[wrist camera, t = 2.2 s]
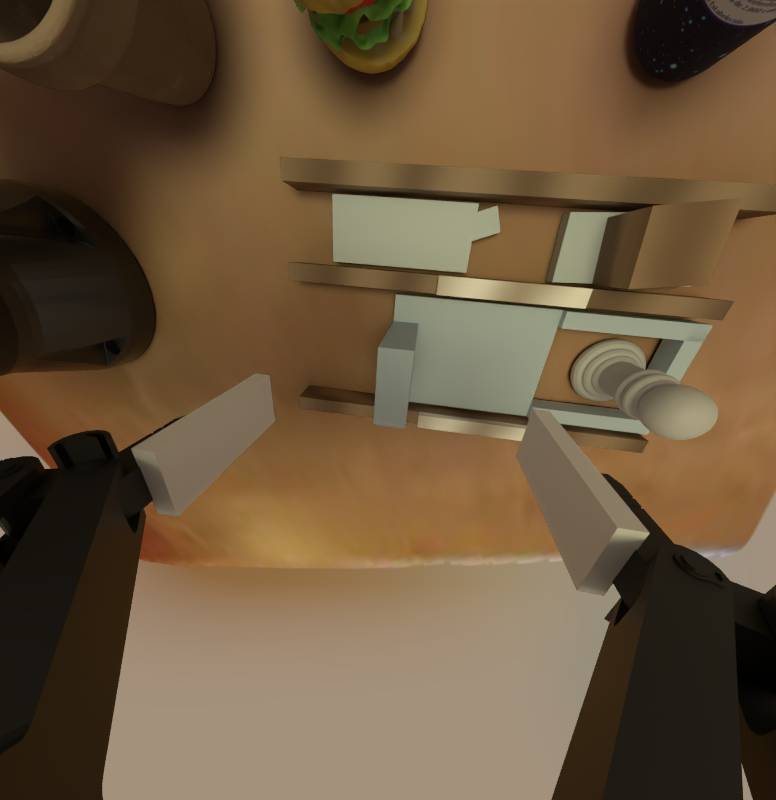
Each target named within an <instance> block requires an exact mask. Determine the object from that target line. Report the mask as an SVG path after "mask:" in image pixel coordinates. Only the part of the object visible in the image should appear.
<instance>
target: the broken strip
mask: <svg viewBox="0 0 776 800" xmlns="http://www.w3.org/2000/svg"><path fill="white" fill-rule="evenodd" d="M332 199H333V261H334V262H346V263H357V264H369V265H381V266H392V267H404V268H416V269H427V270H439V271H451V272H462V273H466V271H467V266H468V260H469V255H470V249H471V244H472V241H475V240H478V239H481V238H485V237H488V236H491V235H494V234H497V233H500V223H499V213H498V205H497V206H494V207H491V208H488V209H485V210H482V211H479V212H478V206H479V203H466V202H451V201H435V200H420V199H405V198H390V197H375V196H359V195H344V194H332ZM623 213H627V212H569V213H567V214H564V215H563V216H562V220H561V224H560V228H559V231H558V235H557V239H556V243H555V247H554V251H553V255H552V259H551V263H550V267H549V270H548V274H547V278H546V281H547V282H559V283H591V284H592V281H593V277H594V273H595V269H596V265H597V261H598V256H599V252H600V248H601V244H602V240H603V236H604V231H605V227H606V223H607V219H608V217H612V216H616V215H619V214H623ZM687 287H691V286H687Z"/></svg>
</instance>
